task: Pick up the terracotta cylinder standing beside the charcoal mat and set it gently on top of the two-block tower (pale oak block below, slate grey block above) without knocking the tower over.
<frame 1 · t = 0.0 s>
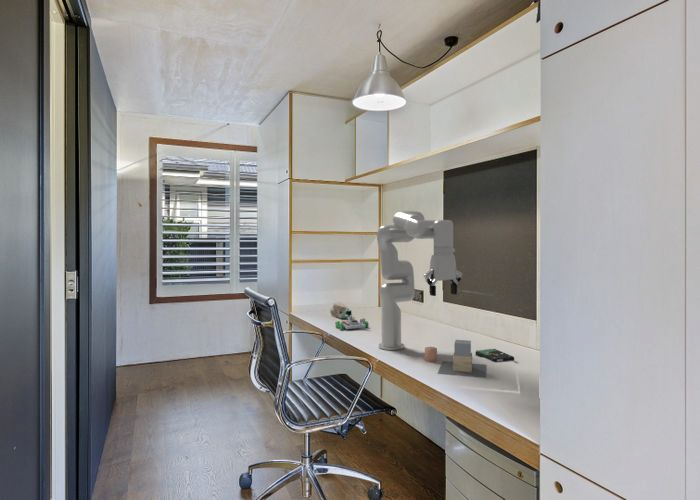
hand: (443, 294, 173), 31 cm above the table, tool pointing down, fingers open, 9 cm apart
slate grey block: (462, 354, 177), point 7 cm above the table, touching pale oak block
decorative stone: (339, 317, 298), on the table
pale oak block: (462, 368, 177), point 1 cm above the table, touching charcoal mat, slate grey block
charcoal mat: (462, 370, 177), on the table
robot kit: (349, 327, 268), on the table
disk drive: (494, 359, 195), on the table
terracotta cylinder: (430, 362, 190), on the table
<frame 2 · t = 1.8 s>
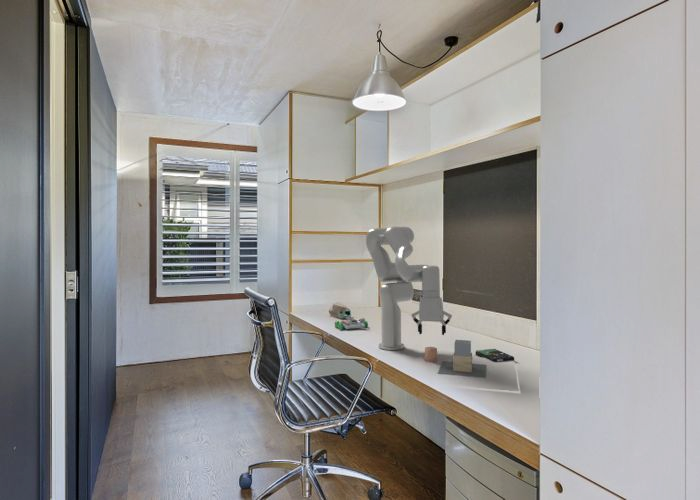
hand: (431, 334, 189), 12 cm above the table, tool pointing down, fingers open, 9 cm apart
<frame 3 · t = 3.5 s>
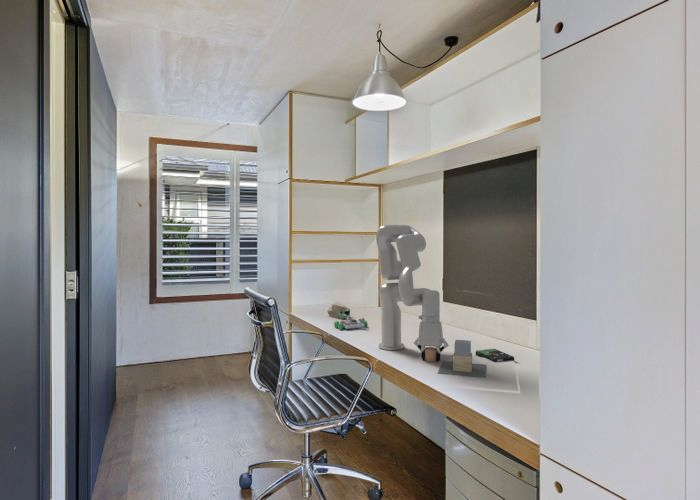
hand: (430, 360, 190), 1 cm above the table, tool pointing down, fingers closed on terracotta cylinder, 5 cm apart
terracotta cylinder: (430, 362, 190), on the table, touching gripper
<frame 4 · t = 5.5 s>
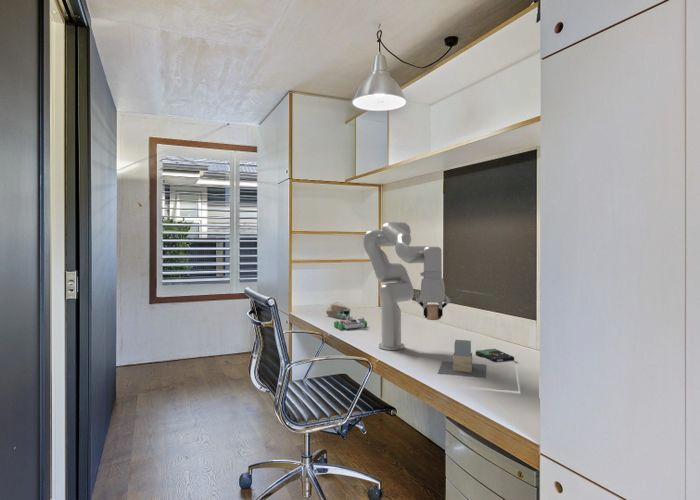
hand: (433, 317, 188), 20 cm above the table, tool pointing down, fingers closed on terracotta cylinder, 5 cm apart
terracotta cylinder: (433, 319, 188), point 19 cm above the table, touching gripper
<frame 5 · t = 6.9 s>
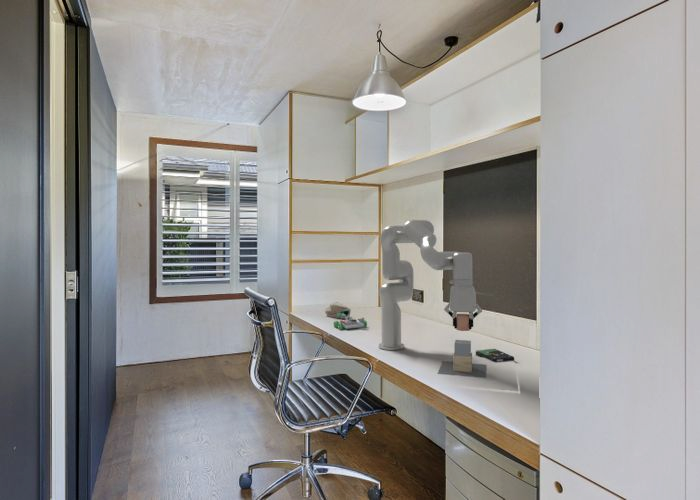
hand: (463, 327, 176), 17 cm above the table, tool pointing down, fingers closed on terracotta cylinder, 5 cm apart
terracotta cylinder: (463, 329, 176), point 17 cm above the table, touching gripper
when the fingers open (13 cm above the table, at t = 7.9 s): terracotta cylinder stays where it is, resting on slate grey block.
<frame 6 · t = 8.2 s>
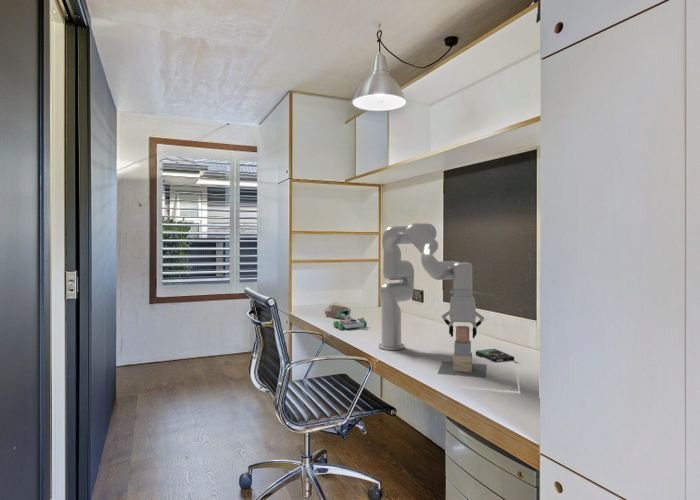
hand: (462, 336, 176), 14 cm above the table, tool pointing down, fingers open, 8 cm apart
slate grey block: (462, 354, 177), point 7 cm above the table, touching pale oak block, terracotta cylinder
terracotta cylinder: (462, 341, 176), point 12 cm above the table, touching slate grey block
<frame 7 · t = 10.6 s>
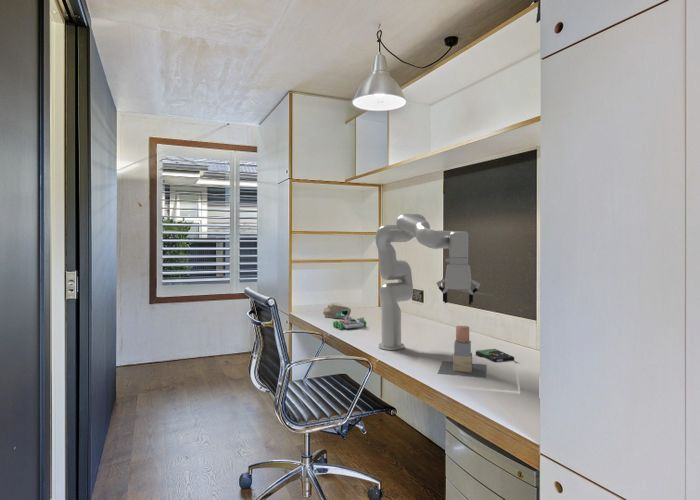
hand: (457, 303, 179), 27 cm above the table, tool pointing down, fingers open, 9 cm apart
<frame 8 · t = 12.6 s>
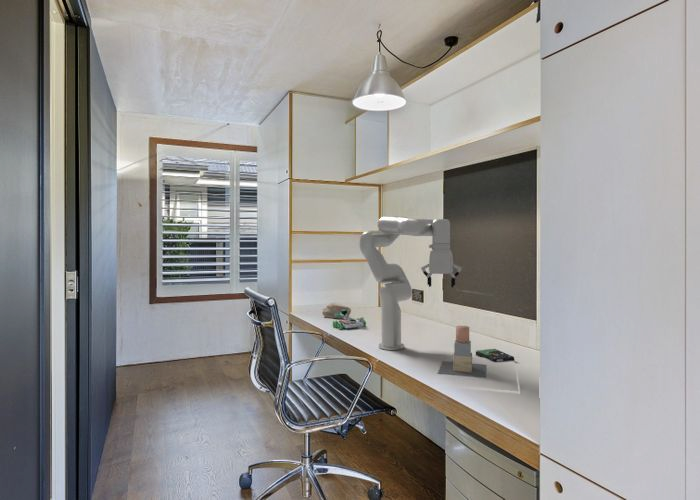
hand: (441, 286, 191), 32 cm above the table, tool pointing down, fingers open, 9 cm apart
at the end: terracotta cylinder 0.0 cm off-centre on the slate grey block, point 5.0 cm above the slate grey block's base; slate grey block point 6.8 cm above the table; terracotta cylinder tilted 0° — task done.
